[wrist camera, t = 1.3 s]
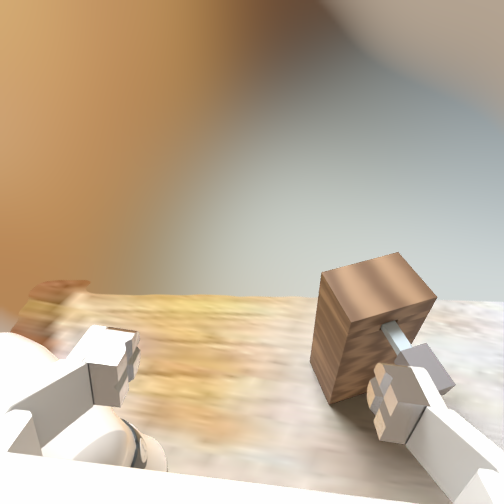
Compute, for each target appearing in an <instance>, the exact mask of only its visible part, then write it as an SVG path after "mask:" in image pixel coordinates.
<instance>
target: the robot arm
mask: <svg viewBox="0 0 504 504" xmlns="http://www.w3.org/2000/svg"><path fill="white" fill-rule="evenodd" d="M139 341H140V336H139V332H138V331H132V330H126V329H120V328H113V327H104V326H98V325H93V326H91V327H90V328H89V329H88V330H87V332H86V333H85V334H84V336H83V337H82V338H81V340H80V341H79V342H78V344H77V345H76V346H75V348H74V349H73V350H72V351H71V353H70V354H69V355H68V357H67V358H66V359H65V360H61V359H60V360H59V359H57V358H56V357H55V356H54V355H53V354H52V353H51V352H50V351H49V350H48V349H46V348H45V347H44V346H42V345H40V344H38V343H36V342H34V341H32V340H30V339H28V338H25V337H23V336H21V335H18V334H15V333H0V504H417V503H409V502H401V501H393V500H385V499H377V498H369V497H361V496H353V495H345V494H337V493H329V492H321V491H313V490H305V489H297V488H289V487H281V486H273V485H265V484H257V483H249V482H241V481H233V480H225V479H217V478H209V477H201V476H193V475H186V474H178V473H170V472H167V460H166V456H165V453H164V450H163V448H162V447H161V445H160V444H159V443H158V442H157V441H156V440H155V439H154V438H152V437H150V436H147V435H145V434H142V433H141V432H139V430H138V429H137V428H136V427H135V426H134V425H132V424H131V423H129V422H127V421H125V420H123V419H121V418H119V417H118V416H117V415H116V414H115V413H114V411H113V409H112V408H111V407H121V405H122V403H123V401H124V399H125V397H126V395H127V393H128V391H129V385H128V382H130V381H131V380H133V379H134V378H135V375H136V373H137V371H138V367H139V363H140V349H139V348H138V347H137V345H138V343H139ZM374 373H375V377H374V378H372V379H371V380H370V381H369V384H368V387H367V401H368V405H369V409H370V410H371V411H372V412H373V413H374V414H375V415H376V416H375V419H374V421H373V422H374V425H375V428H376V431H377V434H378V438H379V440H380V441H386V442H392V443H399V444H405V445H406V447H407V448H408V450H409V451H410V452H411V453H412V454H413V456H414V457H415V458H416V459H417V460H418V462H419V463H420V464H421V465H422V467H423V468H424V469H425V470H426V471H427V473H428V474H429V475H430V476H431V477H432V479H433V480H434V481H435V482H436V484H437V485H438V486H439V487H440V488H441V490H442V491H443V492H444V493H445V494H446V496H447V497H448V498H449V499H450V501H451V502H452V503H453V504H504V451H503V450H501V449H500V448H499V447H498V446H496V445H495V444H494V443H493V442H492V441H490V440H489V439H488V438H487V437H485V436H484V435H483V434H482V433H481V432H479V431H478V430H477V429H476V428H474V427H473V426H472V425H471V424H469V423H468V422H467V421H466V420H465V419H463V418H462V417H461V416H460V415H458V414H457V413H456V412H455V411H454V410H449V409H448V408H447V406H446V404H445V402H444V401H443V399H442V397H441V395H440V394H439V392H438V390H437V388H436V386H435V385H434V383H433V381H432V379H431V377H430V376H429V374H428V372H427V370H425V369H424V368H421V367H413V366H403V365H395V364H387V363H378V364H377V365H376V367H375V369H374Z"/></svg>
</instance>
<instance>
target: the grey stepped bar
mask: <svg viewBox="0 0 504 504" xmlns="http://www.w3.org/2000/svg"><path fill="white" fill-rule="evenodd" d="M380 328H381V330H382V331H383V333H384V335H385V336H386V338H387V340H388V341H389V343H390V344H391V346H392V348H393V349H394V351H395V353H396V354H397V357H396V359H395V360H394V363H395V365H403V366H413V367H421V368H424V369H425V370H427V372H428V374H429V376H430V377H431V379H432V381H433V383H434V385H435V386H436V388H437V390H438V392H439V394H440V395H444V394H446V393H447V392H448V391H449V390H450V389H451V388H453V387H454V386H455V383H454V382H453V380H452V379H451V377H450V376H449V374H448V373H447V372H446V370H445V369H444V367H443V366H442V364H441V363H440V362H439V360H438V359H437V357H436V356H435V354H434V353H433V352H432V350H431V349H430V347H429V346H428V344H427V343H424V344H421V345H418V346H415V347H412V345H411V344H410V342H409V341H408V339H407V338H406V336H405V335H404V333H403V332H402V330H401V329H400V327H399V326H398V324H397V323H396V321H395V320H394V321H391V322H387V323H384V324H382V325H381V327H380Z"/></svg>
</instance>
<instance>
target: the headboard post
mask: <svg viewBox="0 0 504 504" xmlns="http://www.w3.org/2000/svg"><path fill="white" fill-rule="evenodd" d="M436 299H437V296H436V295H435V294H434V293H433V292H432V291H431V289H430V288H429V287H428V286H427V285H426V284H425V282H424V281H423V280H422V279H421V278H420V277H419V276H418V274H417V273H416V272H415V271H414V270H413V269H412V267H411V266H410V265H409V264H408V263H407V262H406V261H405V259H404V258H403V257H402V256H401V255H400V254H399V252H397V253H393V254H389V255H385V256H382V257H378V258H374V259H371V260H367V261H363V262H359V263H356V264H351V265H348V266H344V267H340V268H336V269H332V270H329V271H325V272H322V273H321V281H320V288H319V296H318V304H317V311H316V319H315V327H314V334H313V342H312V350H311V357H310V363H311V365H312V368H313V370H314V372H315V374H316V377H317V379H318V381H319V383H320V386H321V388H322V390H323V393H324V395H325V397H326V399H327V402H328V404H329V405H330V404H333V403H336V402H339V401H342V400H345V399H348V398H351V397H354V396H357V395H360V394H363V393H366V392H367V387H368V384H369V381H370V380H371V379H372V378H374V377H375V373H374V369H375V367H376V365H377V364H378V363H387V364H395V363H394V360H395V359H396V357H397V354H396V353H395V351H394V349H393V348H392V346H391V344H390V343H389V341H388V340H387V338H386V336H385V335H384V333H383V331H382V330H381V328H380V327H381V325H382V324H384V323H387V322H391V321H394V320H395V321H396V323H397V324H398V326H399V327H400V329H401V330H402V332H403V333H404V335H405V336H406V338H407V339H408V341H409V342H410V344H412V342H413V340H414V339H415V337H416V335H417V333H418V331H419V330H420V328H421V326H422V324H423V322H424V320H425V319H426V317H427V315H428V313H429V311H430V310H431V308H432V306H433V304H434V302H435V301H436Z"/></svg>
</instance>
